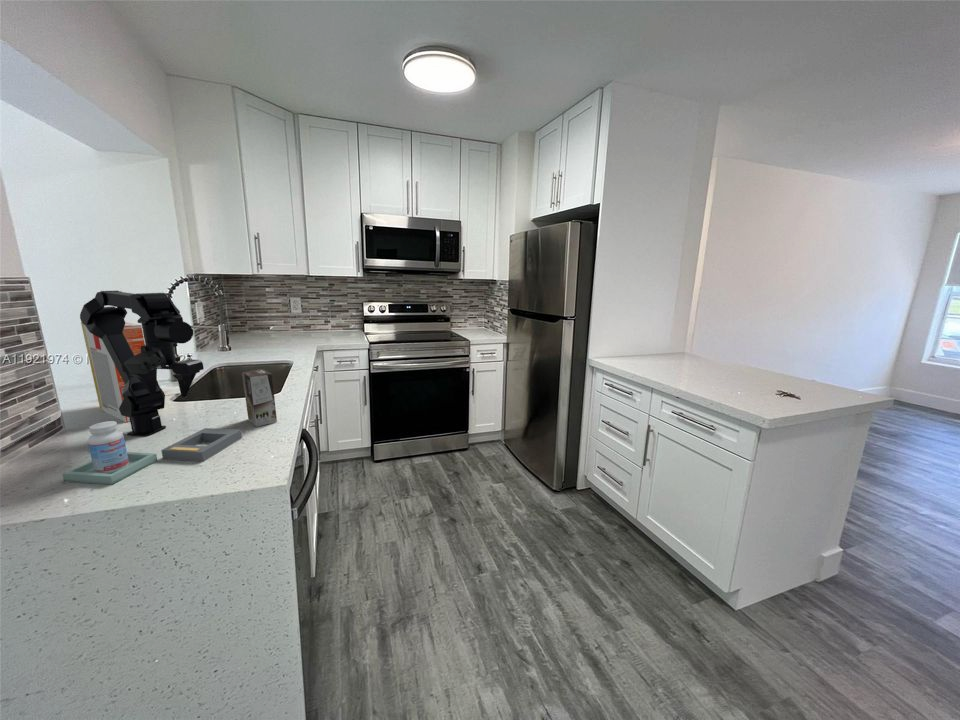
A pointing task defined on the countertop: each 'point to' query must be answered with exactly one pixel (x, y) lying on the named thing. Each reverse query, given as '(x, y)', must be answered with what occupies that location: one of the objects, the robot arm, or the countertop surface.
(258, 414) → the coffee box
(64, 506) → the countertop surface
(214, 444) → the socket block
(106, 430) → the pill bottle
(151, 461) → the tray
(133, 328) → the orange cereal box
